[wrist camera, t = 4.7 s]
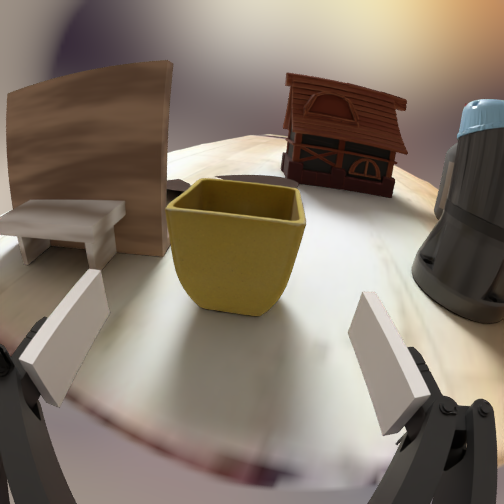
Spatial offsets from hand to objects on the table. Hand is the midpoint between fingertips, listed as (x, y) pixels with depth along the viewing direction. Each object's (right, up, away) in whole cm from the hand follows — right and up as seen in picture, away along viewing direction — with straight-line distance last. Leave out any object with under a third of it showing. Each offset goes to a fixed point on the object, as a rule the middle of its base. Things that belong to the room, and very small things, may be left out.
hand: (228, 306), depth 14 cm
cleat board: (-19, +3, +15) cm, 25 cm away
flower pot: (0, -1, +11) cm, 11 cm away
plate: (-4, +14, +42) cm, 45 cm away
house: (+25, +22, +64) cm, 72 cm away
